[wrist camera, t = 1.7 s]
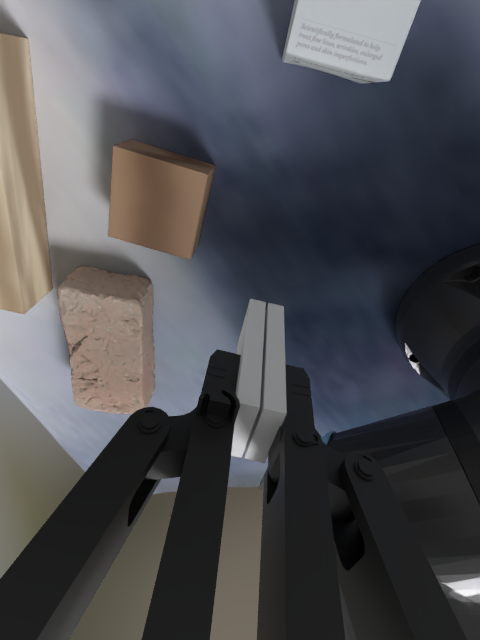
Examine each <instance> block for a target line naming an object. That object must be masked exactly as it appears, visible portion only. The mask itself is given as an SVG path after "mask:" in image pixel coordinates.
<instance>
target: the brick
mask: <svg viewBox="0 0 480 640" xmlns="http://www.w3.org/2000/svg"><path fill="white" fill-rule="evenodd" d="M57 293H58V300H59V310H60V317H61V322H62V326H63V328H64V331H65V337H66V339H67V341H68V349H69V352H70V367H71V368H72V370H71V376H72V389H73V396H74V403H75V404H76V405H78V406H79V407H82V408H86V409H90V410H96V411H103V412H109V413H123V414H128V413H130V414H133V413H134V412H135V411H137V410H139V409H142V408H145V407H147V406H148V404H149V402H150V399H151V397H152V395H153V391H154V387H155V384H154V379H155V376H154V374H153V370H154V368H155V365H154V345H153V342H154V339H153V320H152V314H153V289H152V284H151V282H150V280H148V279H146V278H142V277H139V276H137V275H125V274H123V275H122V274H117V273H112V272H108V271H106V270H101V269H99V268H95V267H87V266H81V267H77V268H76V269H75V271H74V272H73V273H71V274H69V275H68V276H67V278H66V281H64V282H62V283H61V285H60V286H59V287H58V290H57Z"/></svg>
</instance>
